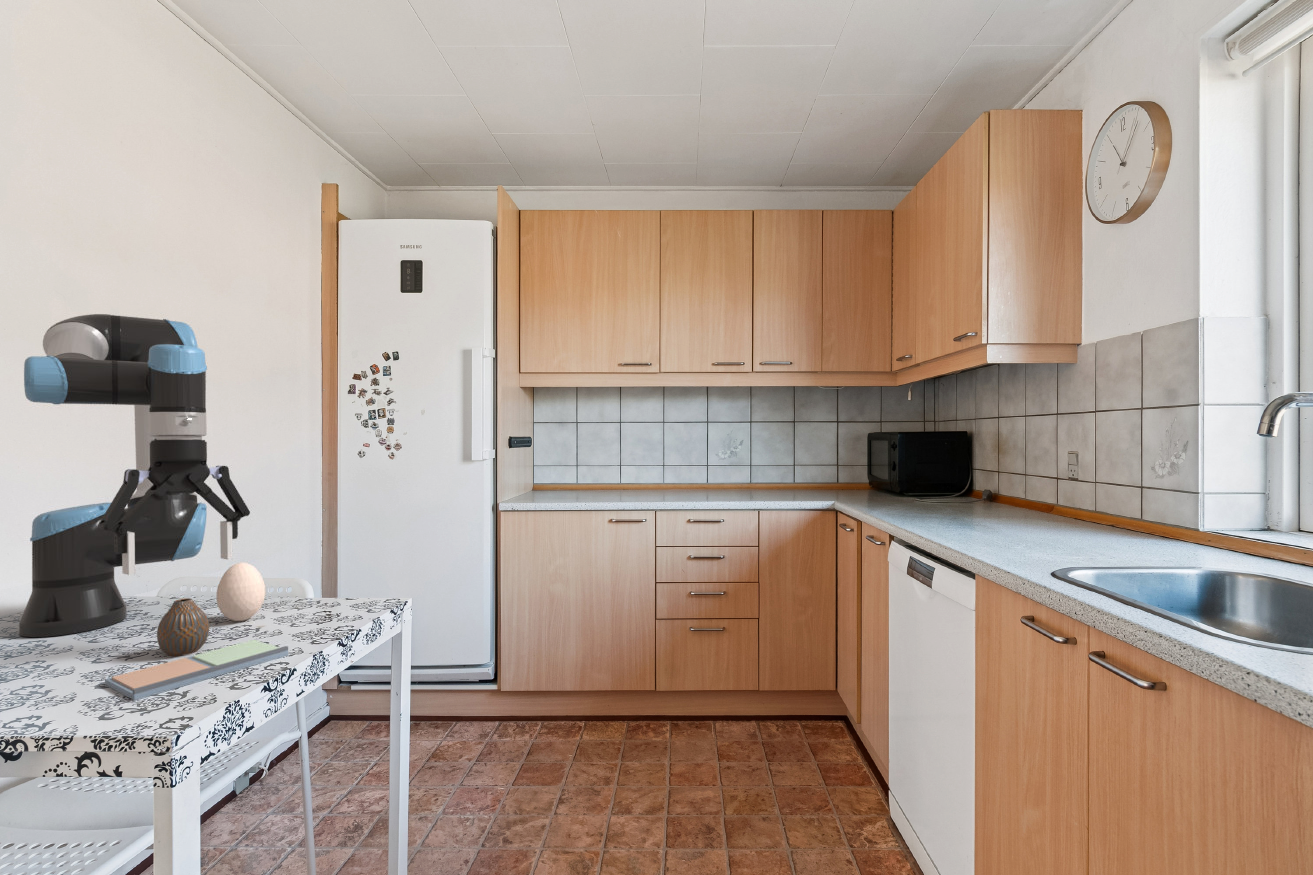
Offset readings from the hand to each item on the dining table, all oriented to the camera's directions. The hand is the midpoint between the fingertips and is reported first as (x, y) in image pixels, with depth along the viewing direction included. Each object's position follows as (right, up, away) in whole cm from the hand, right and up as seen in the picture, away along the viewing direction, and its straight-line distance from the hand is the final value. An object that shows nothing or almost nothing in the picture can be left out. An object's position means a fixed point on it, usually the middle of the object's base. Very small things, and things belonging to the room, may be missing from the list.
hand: (180, 565), depth 102 cm
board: (+9, -14, -8) cm, 19 cm away
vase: (0, -15, +1) cm, 15 cm away
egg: (-3, -15, +19) cm, 24 cm away
